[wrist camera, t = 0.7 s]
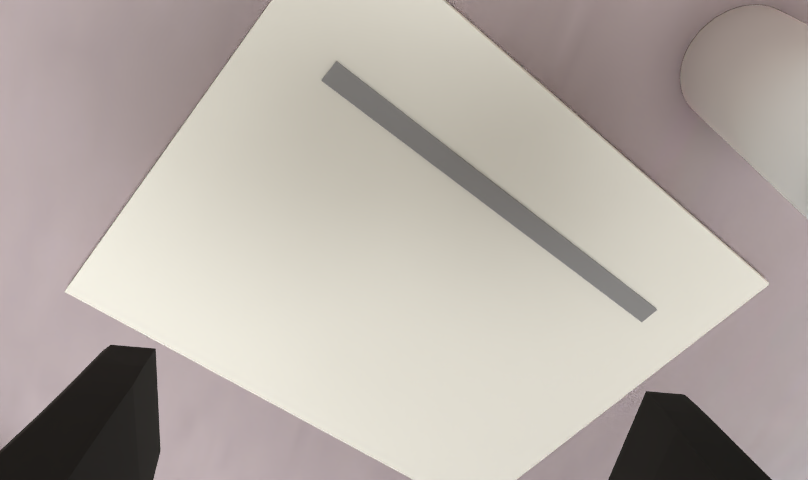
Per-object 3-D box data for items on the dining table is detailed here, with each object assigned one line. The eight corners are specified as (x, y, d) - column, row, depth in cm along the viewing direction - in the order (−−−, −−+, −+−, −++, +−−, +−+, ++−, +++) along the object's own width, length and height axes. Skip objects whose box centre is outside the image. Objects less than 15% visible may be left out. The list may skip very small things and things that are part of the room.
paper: (765, 278, 21) (771, 286, 21) (473, 505, 26) (474, 514, 26) (337, -94, 16) (336, -92, 15) (68, 285, 21) (63, 293, 20)
